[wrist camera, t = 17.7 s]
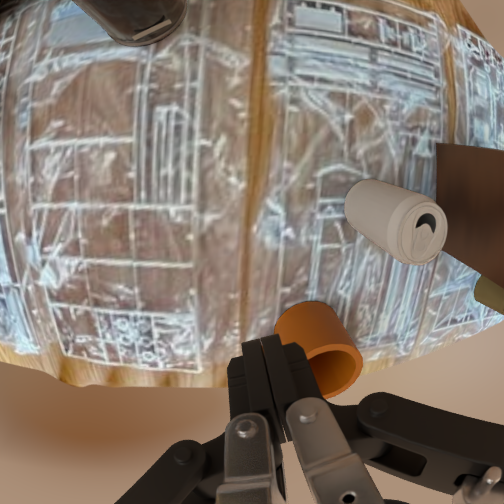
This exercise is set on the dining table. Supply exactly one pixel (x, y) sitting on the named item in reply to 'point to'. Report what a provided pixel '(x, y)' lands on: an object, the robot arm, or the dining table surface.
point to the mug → (322, 345)
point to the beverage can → (397, 220)
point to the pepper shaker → (489, 294)
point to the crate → (473, 206)
